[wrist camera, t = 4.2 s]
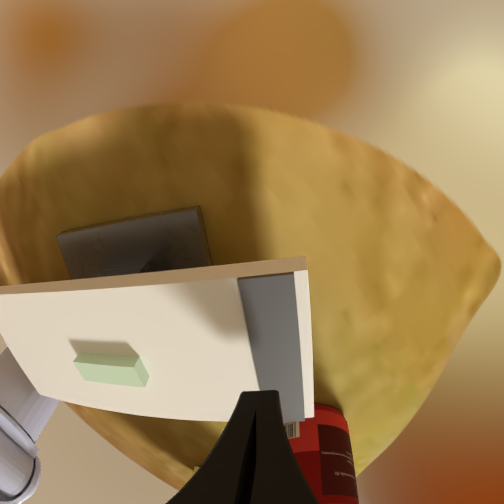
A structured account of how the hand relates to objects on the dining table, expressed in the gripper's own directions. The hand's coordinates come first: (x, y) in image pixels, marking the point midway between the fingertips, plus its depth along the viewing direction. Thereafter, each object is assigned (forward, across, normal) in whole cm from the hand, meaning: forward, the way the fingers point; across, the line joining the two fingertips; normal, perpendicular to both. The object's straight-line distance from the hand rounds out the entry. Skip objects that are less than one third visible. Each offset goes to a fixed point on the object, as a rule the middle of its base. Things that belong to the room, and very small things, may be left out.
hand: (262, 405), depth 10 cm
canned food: (+8, -2, +14) cm, 17 cm away
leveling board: (+3, +8, 0) cm, 9 cm away
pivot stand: (+8, +8, 0) cm, 11 cm away
